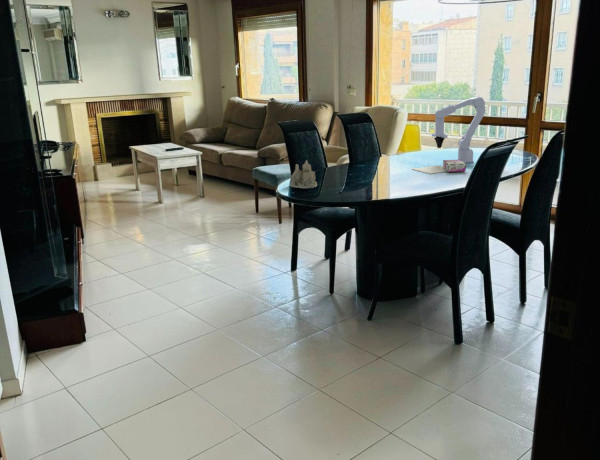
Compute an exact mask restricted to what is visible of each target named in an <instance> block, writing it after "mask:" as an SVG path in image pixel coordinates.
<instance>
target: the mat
mask: <svg viewBox="0 0 600 460" xmlns="http://www.w3.org/2000/svg"><path fill="white" fill-rule="evenodd" d="M411 170H412V171H416V172H419V173H424V174H428V175H433V174H434V175H435V174H441V173H448V172H447V171H446V170H445V169H444V168H443V165H437V164H436V165H430V166H423V167H416V168H415V167H414V168H411Z"/></svg>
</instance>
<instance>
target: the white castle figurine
mask: <svg viewBox="0 0 600 460" xmlns="http://www.w3.org/2000/svg"><path fill="white" fill-rule="evenodd" d="M301 169H302V170H300V167H299V164H297V163H296V164H295V169H294V171H293V173H292V174H291V176H290V177H291V178H290V180H291V181H290V184H289V186H290V187H291V188H296V189H297V188H299V189H314V187H315V188H316V187H317V186H318V182H317V181H316V172H315V171H313V170H312V165H311V164H310V163H309V162H308V160H305V162H304V164H302V167H301Z"/></svg>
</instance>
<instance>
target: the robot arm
mask: <svg viewBox="0 0 600 460" xmlns="http://www.w3.org/2000/svg"><path fill="white" fill-rule="evenodd" d="M467 106H473V107H474V108H475V111H476V113H475V115H474V117H473V119H472V121H471V122H470V124H469V126H468V128H467V130H466V131H465V133H464V135H463V136H462V137H461V138H460V139H459V140H458V142H457V144H458V146H459V147H458V148H457V149H458V151H457V153H458V154H457V160H461V161H463V162H464V163H465V164H468V163H473V162H474V150H473V149H472V148H470V146H471V142H472V138H473V135H474V134H475V133H476V131H477V128H478V126H479V125H480V123H481V121H482V119H483V117H484V116H485V114H486V102H485V100H484V98H483V97H481V96H479V95H478V96H477V95H476V96H474V97H469V98H467V99H464V100H463V101H460V102H459V103H456V104H449V103H448V105H447V106H443V107H441V108H439V109H437V110H436V111H435V113H434V116H435V121H434V122H435V126H434V127H435V128H434V133H431V137H434V138H433V139H434V141H435V143H436V147H437V149H441V148H442V146H443V143H444V140H445V139H448V134H445V117H448V116H449V115H452V114H454V113H456V112H457V110H459V109H461V108H465V107H467Z"/></svg>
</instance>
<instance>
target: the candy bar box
mask: <svg viewBox="0 0 600 460" xmlns="http://www.w3.org/2000/svg"><path fill="white" fill-rule="evenodd" d="M442 166H443V168H444V169H445V170H446V171H447V172H446V173H451V172H452V173H453V172H456V173H457V172H466V170H467V169H466V168H467V163H464V162H463V161H461V160H458V159H446V160H445V159H443V160H442Z"/></svg>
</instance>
